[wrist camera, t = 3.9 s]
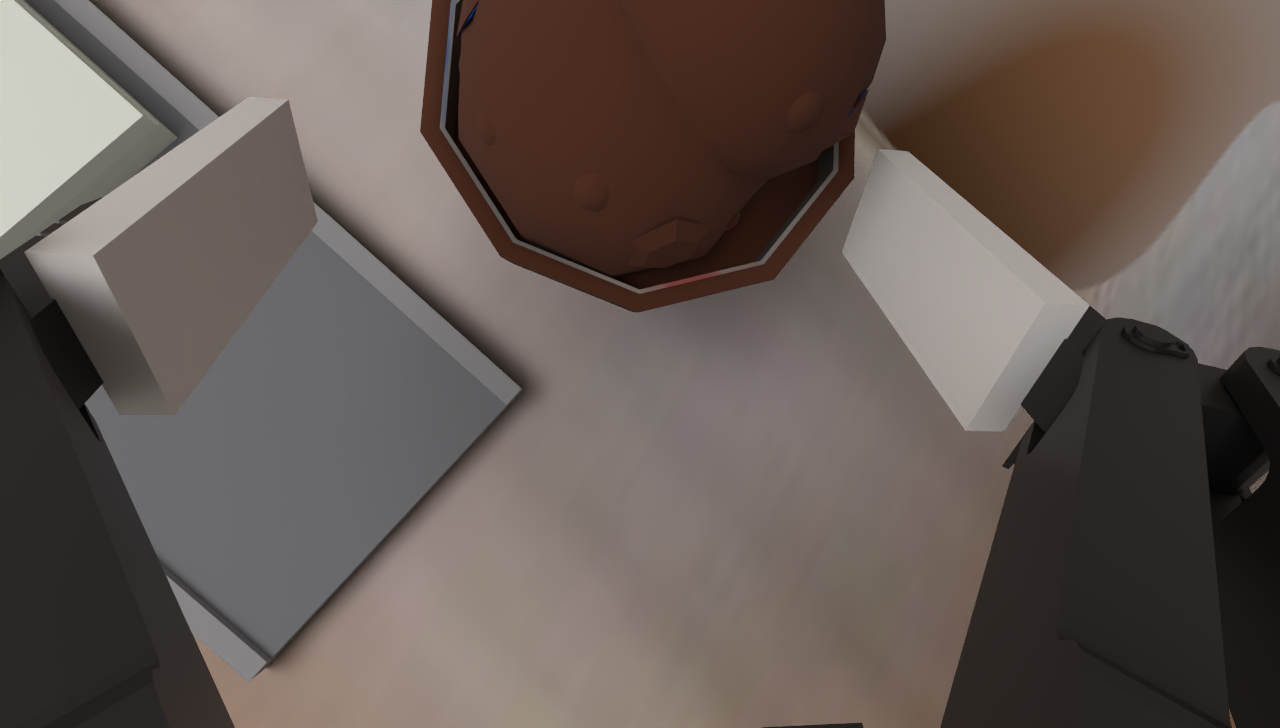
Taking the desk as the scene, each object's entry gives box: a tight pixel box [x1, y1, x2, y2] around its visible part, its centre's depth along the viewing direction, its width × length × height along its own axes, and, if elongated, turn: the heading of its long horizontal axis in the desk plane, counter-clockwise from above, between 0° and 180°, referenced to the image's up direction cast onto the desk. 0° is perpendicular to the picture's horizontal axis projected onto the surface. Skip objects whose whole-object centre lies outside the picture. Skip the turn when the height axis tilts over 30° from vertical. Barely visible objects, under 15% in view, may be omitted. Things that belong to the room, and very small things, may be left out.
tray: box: [24, 0, 523, 682], centre depth 21 cm, size 24×13×1 cm, turn 48°
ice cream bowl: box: [420, 0, 886, 312], centre depth 17 cm, size 11×11×15 cm
